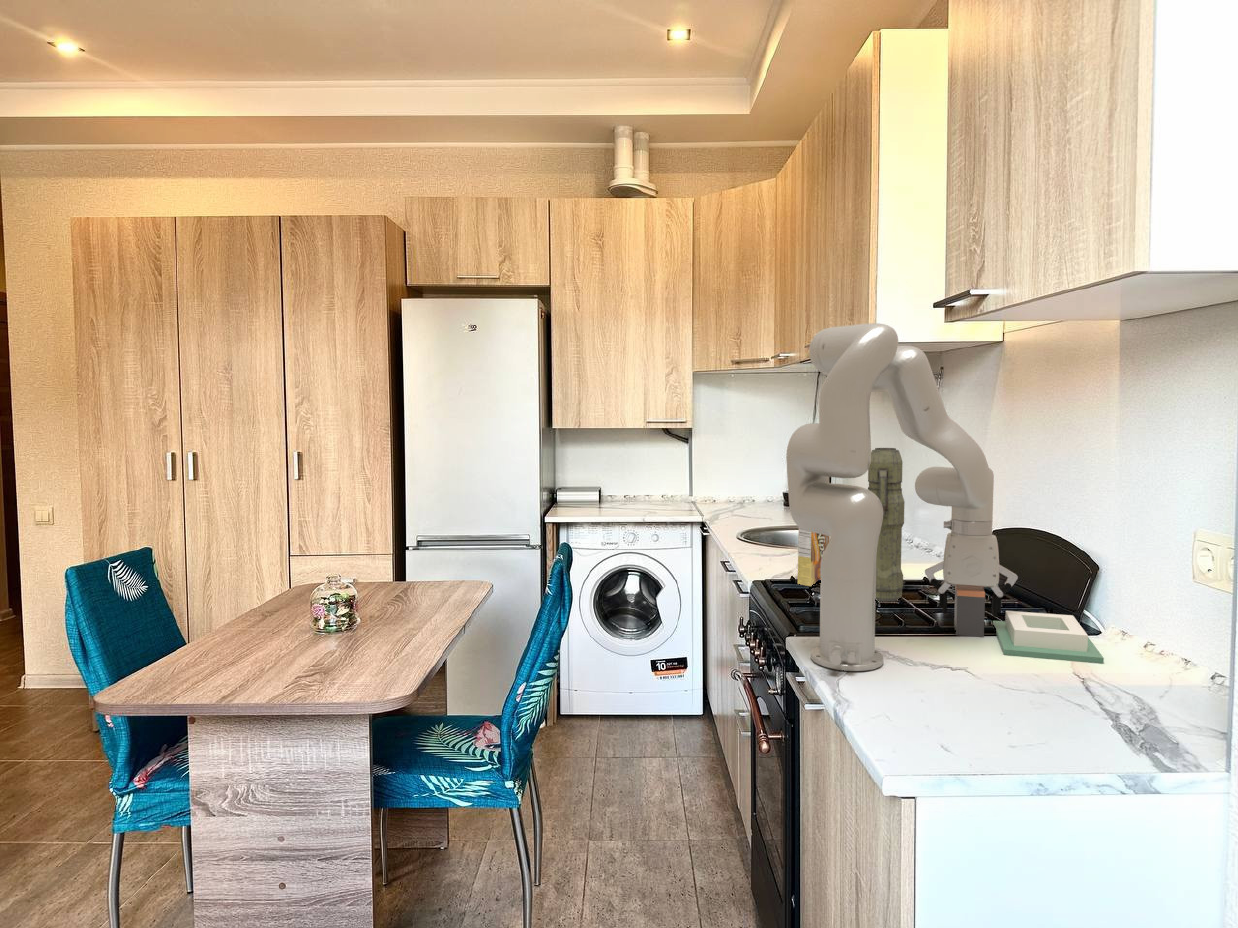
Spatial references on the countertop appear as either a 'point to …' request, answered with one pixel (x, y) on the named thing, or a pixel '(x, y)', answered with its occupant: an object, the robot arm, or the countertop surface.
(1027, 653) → the board
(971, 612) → the plug
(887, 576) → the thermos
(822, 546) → the candy box
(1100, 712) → the countertop surface
